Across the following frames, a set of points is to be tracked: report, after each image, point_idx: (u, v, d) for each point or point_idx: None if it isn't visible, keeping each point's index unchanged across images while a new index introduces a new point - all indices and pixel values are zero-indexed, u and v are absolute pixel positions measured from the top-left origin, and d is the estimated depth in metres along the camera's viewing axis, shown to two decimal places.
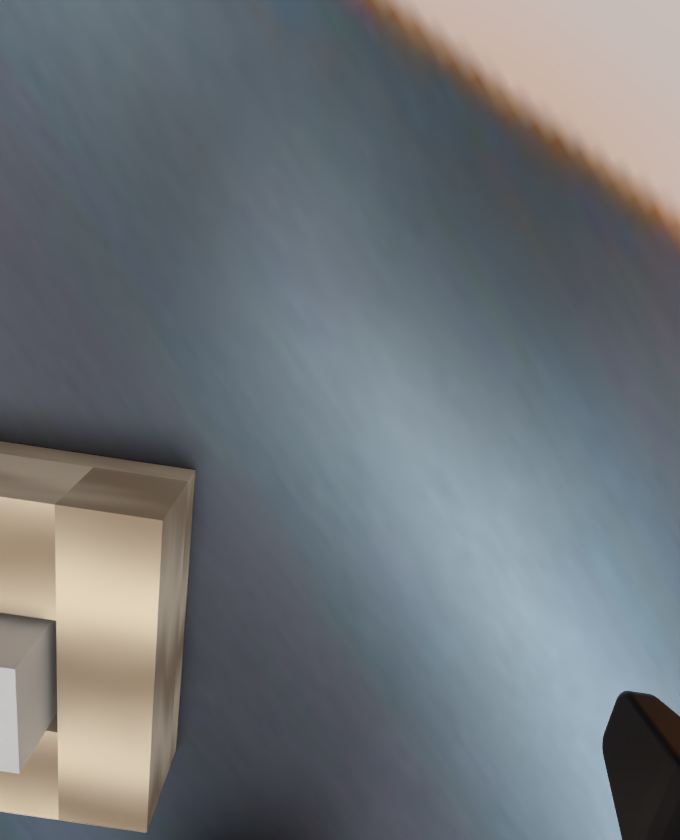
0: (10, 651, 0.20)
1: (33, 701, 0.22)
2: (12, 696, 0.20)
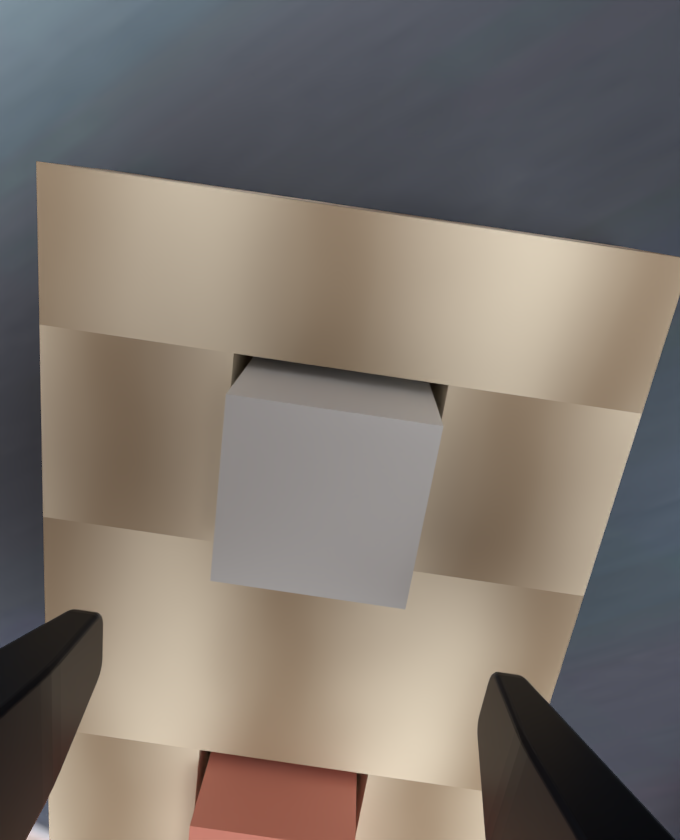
0: None
1: (342, 395, 0.14)
2: (279, 407, 0.13)
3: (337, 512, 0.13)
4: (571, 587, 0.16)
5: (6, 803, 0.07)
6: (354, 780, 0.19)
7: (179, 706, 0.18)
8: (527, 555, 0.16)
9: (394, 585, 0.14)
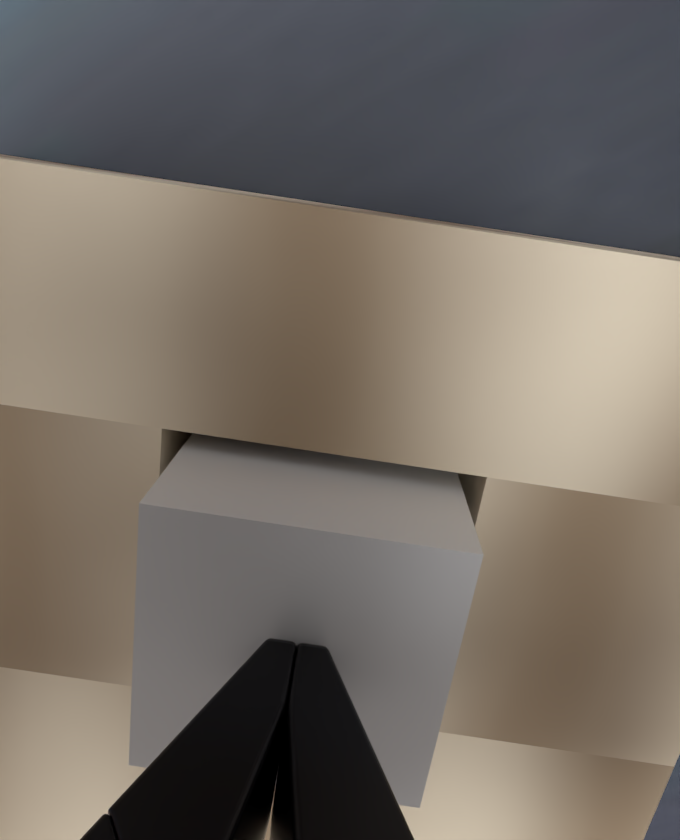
0: None
1: (325, 493, 0.09)
2: (224, 524, 0.08)
3: None
4: (657, 755, 0.11)
5: (255, 839, 0.07)
6: None
7: None
8: (595, 712, 0.11)
9: (403, 776, 0.09)
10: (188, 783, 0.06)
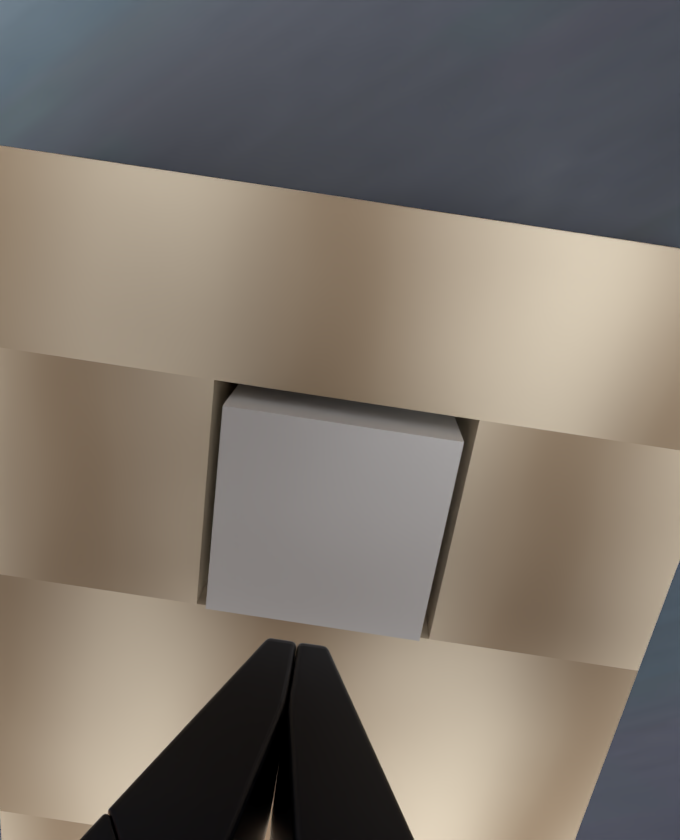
0: None
1: (351, 406, 0.12)
2: (282, 420, 0.11)
3: (345, 536, 0.12)
4: (623, 660, 0.13)
5: None
6: None
7: None
8: (571, 623, 0.13)
9: (407, 615, 0.13)
10: (188, 783, 0.06)
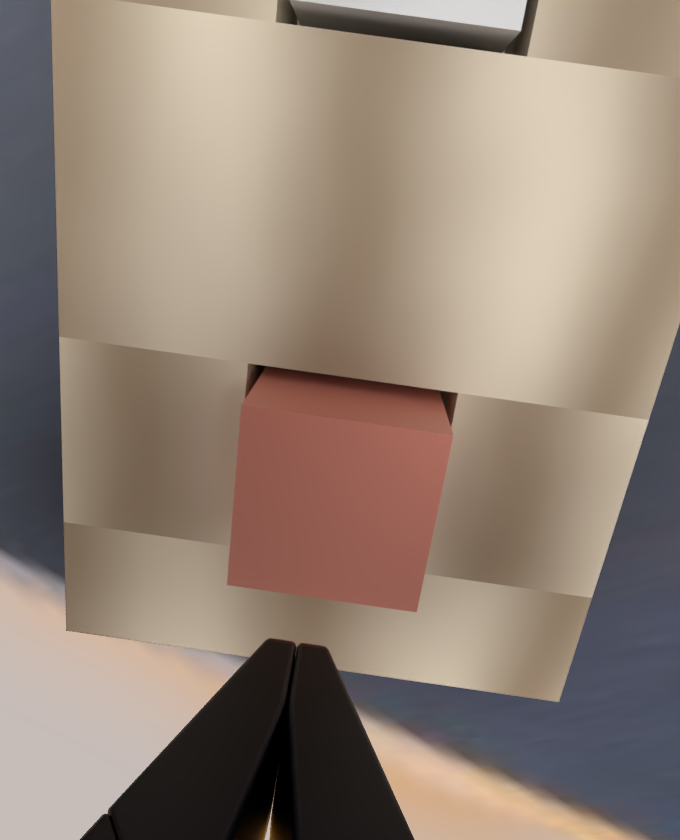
0: None
1: None
2: None
3: None
4: None
5: None
6: (440, 402, 0.15)
7: (222, 295, 0.14)
8: None
9: None
10: (188, 783, 0.06)
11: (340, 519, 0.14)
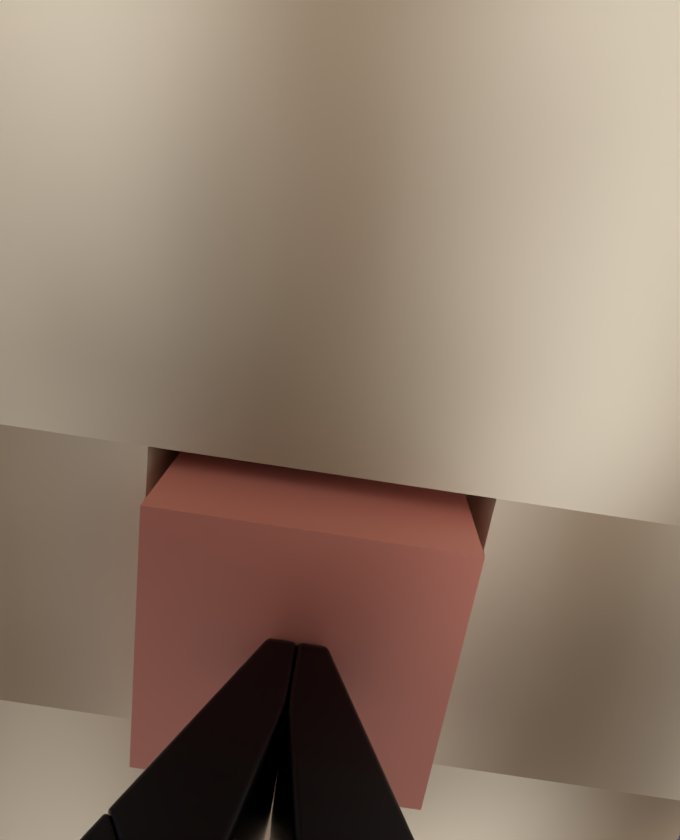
0: None
1: None
2: None
3: None
4: None
5: (255, 839, 0.07)
6: None
7: (101, 334, 0.08)
8: None
9: None
10: (188, 783, 0.06)
11: None
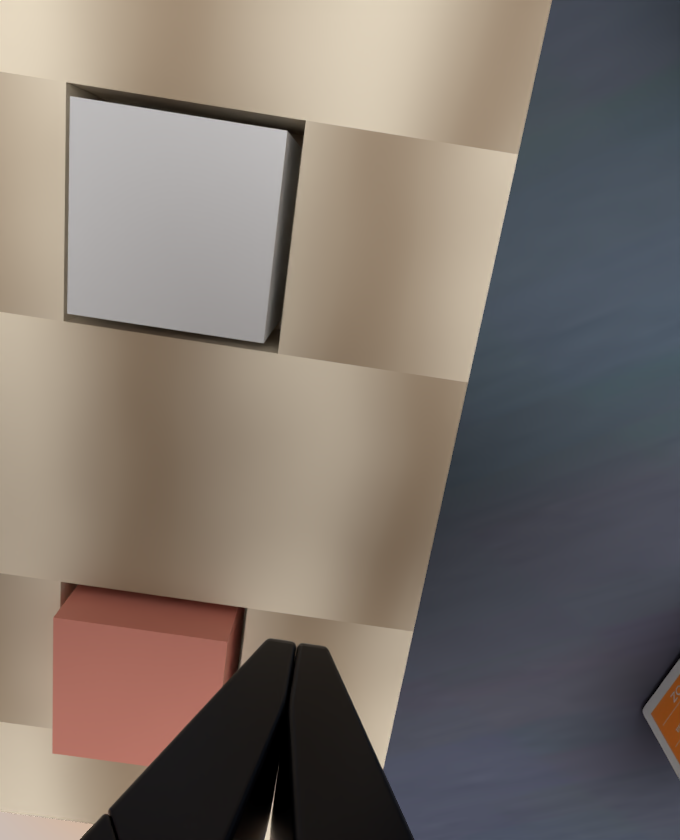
0: None
1: None
2: (124, 110, 0.13)
3: (189, 232, 0.13)
4: (454, 371, 0.15)
5: None
6: None
7: (34, 527, 0.16)
8: (404, 332, 0.14)
9: (250, 315, 0.14)
10: (188, 783, 0.06)
11: (142, 703, 0.17)
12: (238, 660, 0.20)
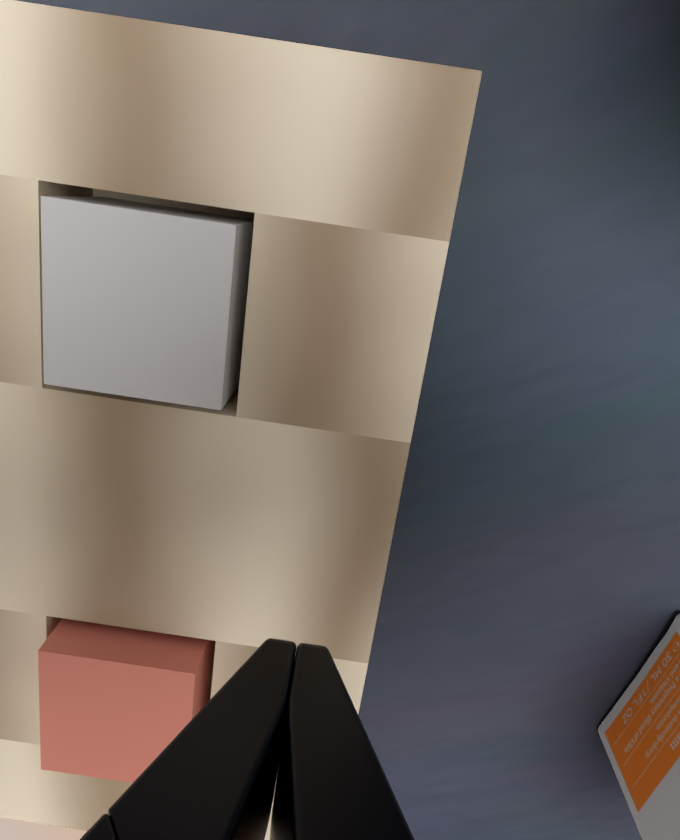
0: None
1: (158, 210, 0.15)
2: (89, 208, 0.14)
3: (150, 313, 0.15)
4: (397, 433, 0.16)
5: None
6: None
7: (21, 568, 0.18)
8: (350, 399, 0.16)
9: (208, 386, 0.15)
10: (188, 783, 0.06)
11: (119, 727, 0.18)
12: None
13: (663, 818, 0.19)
